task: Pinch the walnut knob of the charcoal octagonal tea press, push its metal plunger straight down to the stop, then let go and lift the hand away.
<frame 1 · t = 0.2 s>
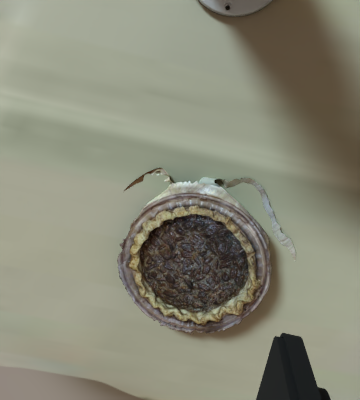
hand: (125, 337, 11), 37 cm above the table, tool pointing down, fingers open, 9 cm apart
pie: (193, 254, 51), on the table
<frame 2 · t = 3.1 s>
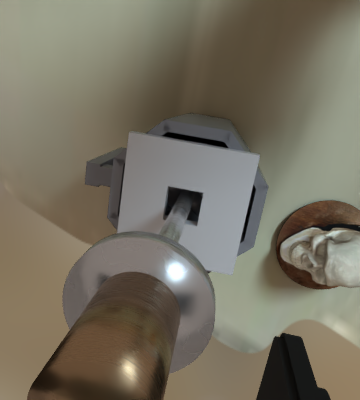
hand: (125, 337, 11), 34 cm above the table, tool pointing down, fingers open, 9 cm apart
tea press: (201, 163, 43), on the table
skull: (323, 244, 44), on the table
plunger: (168, 237, 19), point 25 cm above the table, slide at 0.0 cm
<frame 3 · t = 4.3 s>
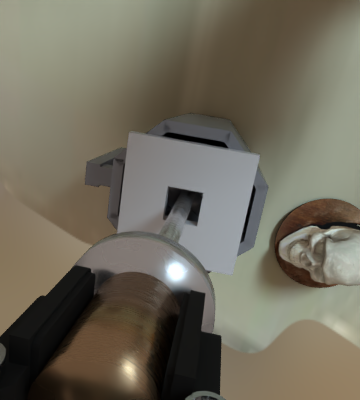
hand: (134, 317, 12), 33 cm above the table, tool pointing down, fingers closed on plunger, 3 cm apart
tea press: (201, 163, 43), on the table
skull: (322, 242, 44), on the table
plunger: (168, 237, 19), point 25 cm above the table, slide at 0.0 cm, touching gripper
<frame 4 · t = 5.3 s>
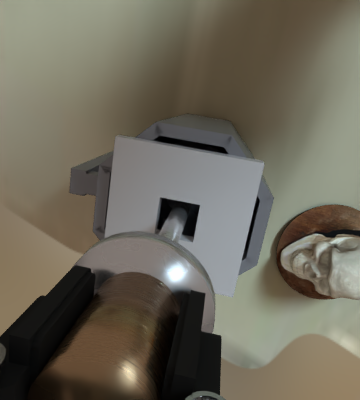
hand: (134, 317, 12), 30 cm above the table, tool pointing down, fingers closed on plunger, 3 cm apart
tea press: (199, 167, 40), on the table
skull: (326, 251, 41), on the table
plunger: (168, 238, 19), point 22 cm above the table, slide at 3.1 cm, touching gripper
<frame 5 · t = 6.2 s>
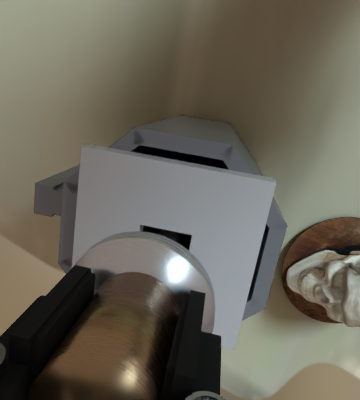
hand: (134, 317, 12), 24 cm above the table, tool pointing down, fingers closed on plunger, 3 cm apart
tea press: (195, 176, 35), on the table
skull: (339, 269, 36), on the table
plunger: (168, 238, 19), point 17 cm above the table, slide at 8.3 cm, touching gripper
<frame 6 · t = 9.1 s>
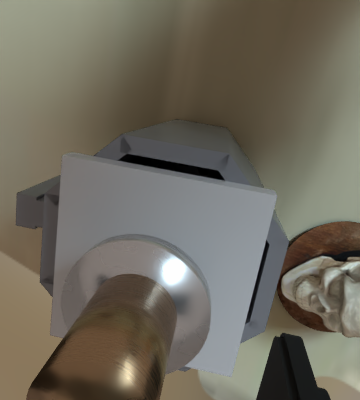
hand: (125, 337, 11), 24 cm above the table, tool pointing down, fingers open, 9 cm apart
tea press: (191, 183, 34), on the table
skull: (336, 275, 35), on the table
plunger: (166, 240, 19), point 15 cm above the table, slide at 10.1 cm
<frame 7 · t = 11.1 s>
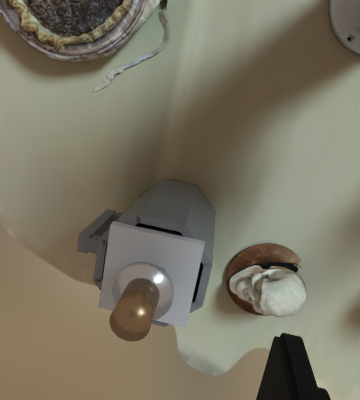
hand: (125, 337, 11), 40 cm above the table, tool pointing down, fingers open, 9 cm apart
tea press: (174, 218, 52), on the table
skull: (265, 278, 54), on the table
plunger: (156, 260, 38), point 15 cm above the table, slide at 10.1 cm
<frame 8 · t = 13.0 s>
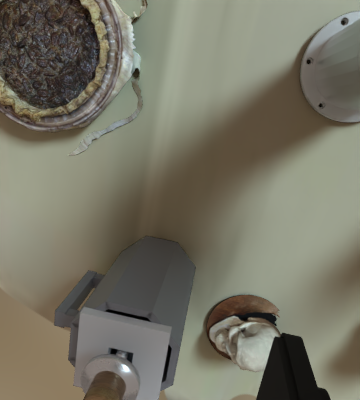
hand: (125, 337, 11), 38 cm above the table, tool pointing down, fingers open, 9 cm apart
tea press: (156, 273, 53), on the table
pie: (56, 49, 47), on the table
skull: (245, 326, 54), on the table
plunger: (129, 335, 39), point 15 cm above the table, slide at 10.1 cm
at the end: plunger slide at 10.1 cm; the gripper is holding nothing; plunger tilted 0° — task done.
